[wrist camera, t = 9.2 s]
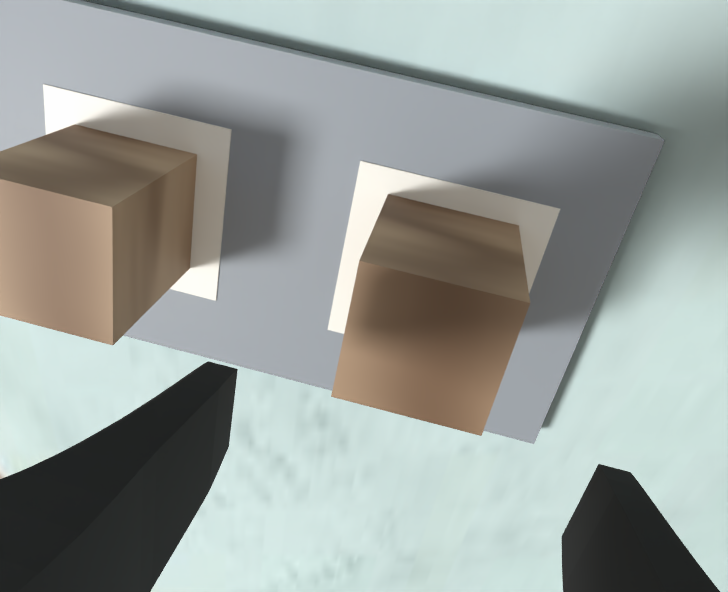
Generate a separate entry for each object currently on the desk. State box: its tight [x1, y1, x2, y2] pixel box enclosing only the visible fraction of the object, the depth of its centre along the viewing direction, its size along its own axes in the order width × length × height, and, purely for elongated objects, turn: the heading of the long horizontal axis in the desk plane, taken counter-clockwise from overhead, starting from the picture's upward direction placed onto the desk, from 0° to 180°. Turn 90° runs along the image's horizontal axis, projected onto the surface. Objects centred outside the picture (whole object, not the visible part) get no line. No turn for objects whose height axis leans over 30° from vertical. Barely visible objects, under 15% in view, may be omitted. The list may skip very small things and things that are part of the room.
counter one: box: [0, 124, 197, 345], centre depth 18 cm, size 4×4×5 cm
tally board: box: [0, 0, 665, 444], centre depth 20 cm, size 20×11×1 cm, turn 78°
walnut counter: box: [331, 194, 530, 436], centre depth 17 cm, size 4×4×5 cm
